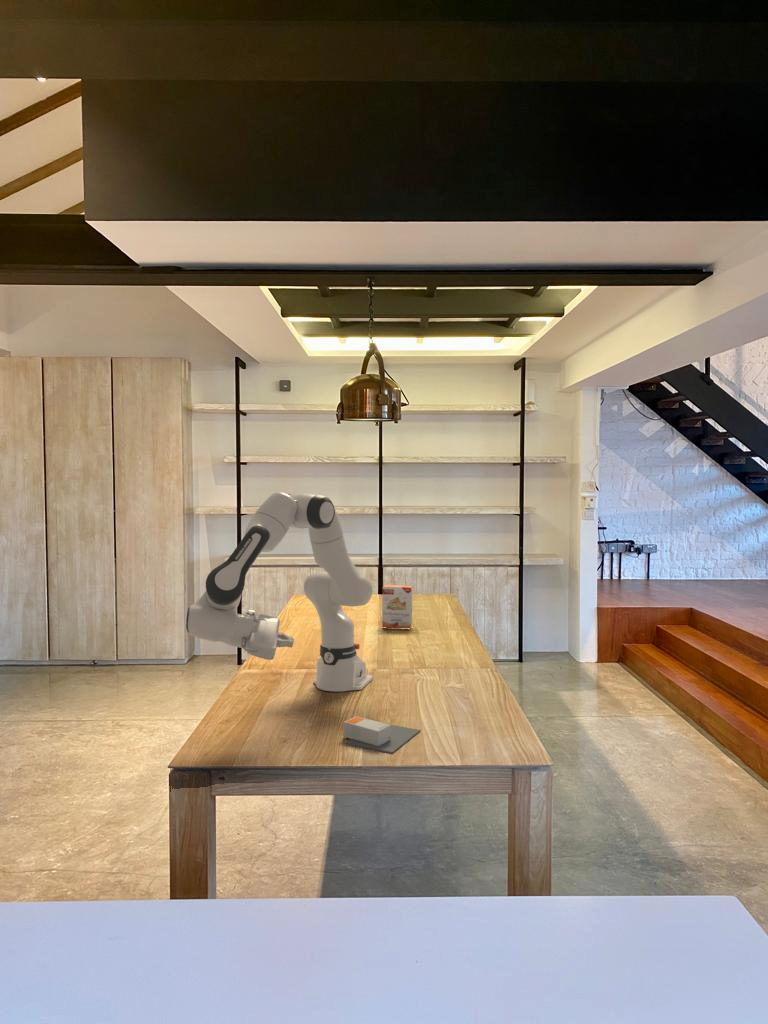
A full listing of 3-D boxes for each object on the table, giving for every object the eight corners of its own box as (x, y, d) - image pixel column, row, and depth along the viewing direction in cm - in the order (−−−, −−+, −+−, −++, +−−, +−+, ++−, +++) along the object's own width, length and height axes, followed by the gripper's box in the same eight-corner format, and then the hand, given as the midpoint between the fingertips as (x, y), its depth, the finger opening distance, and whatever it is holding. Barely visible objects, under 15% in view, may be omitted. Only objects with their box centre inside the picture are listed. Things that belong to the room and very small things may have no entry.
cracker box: (381, 629, 327) (382, 586, 327) (384, 626, 333) (384, 584, 333) (410, 630, 325) (411, 587, 324) (412, 628, 331) (412, 585, 330)
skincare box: (356, 715, 188) (391, 724, 181) (356, 730, 188) (391, 740, 181) (342, 721, 183) (378, 731, 176) (342, 736, 183) (378, 747, 176)
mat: (375, 723, 195) (375, 722, 195) (420, 731, 189) (420, 729, 189) (344, 744, 179) (344, 742, 179) (392, 753, 173) (392, 752, 173)
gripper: (243, 637, 176) (294, 649, 179) (250, 607, 196) (297, 618, 198) (237, 659, 178) (288, 670, 180) (245, 626, 197) (291, 637, 200)
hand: (293, 642), depth 189 cm, fingers closed
